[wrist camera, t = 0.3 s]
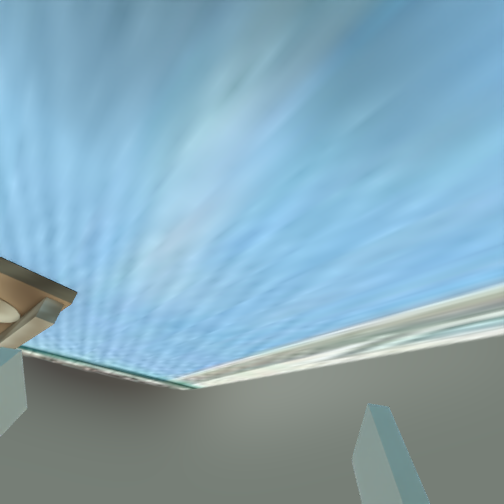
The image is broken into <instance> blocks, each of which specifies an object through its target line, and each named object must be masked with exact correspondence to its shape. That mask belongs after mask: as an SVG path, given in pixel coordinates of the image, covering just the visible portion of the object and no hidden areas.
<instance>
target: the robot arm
mask: <svg viewBox="0 0 504 504" xmlns="http://www.w3.org/2000/svg"><path fill="white" fill-rule="evenodd" d="M26 409H27V400H26V391H25V380H24V371H23V360H22V350H18V349H12V348H5V347H1V348H0V436H1V435H2V434H3V433H4V432H5V431H6V430H7V429H8V428H9V427H10V426H11V425H12V424H13V423H14V422H15V421H16V420H17V418H18V417H19V416H20V415H21V414H22V413H23V412H24V411H25V410H26ZM352 463H353V468H354V472H355V476H356V480H357V485H358V489H359V493H360V497H361V502H362V504H430V502H429V500H428V498H427V495H426V493H425V490H424V488H423V486H422V483H421V481H420V479H419V476H418V474H417V472H416V469H415V467H414V465H413V462H412V460H411V458H410V455H409V453H408V451H407V448H406V446H405V444H404V441H403V439H402V437H401V434H400V432H399V430H398V427H397V425H396V423H395V420H394V418H393V416H392V413H391V411H390V409H389V407H387V406H380V405H374V404H368V405H367V408H366V412H365V415H364V419H363V422H362V426H361V430H360V432H359V436H358V440H357V443H356V446H355V450H354V453H353V457H352Z"/></svg>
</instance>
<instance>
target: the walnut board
mask: <svg viewBox="0 0 504 504" xmlns="http://www.w3.org/2000/svg"><path fill="white" fill-rule="evenodd" d="M76 294H77V292H75V291H73V290H71V289H69V288H66V287H64V286H62V285H60V284H58V283H55V282H53V281H51V280H49V279H47V278H45V277H42V276H40V275H38V274H36V273H34V272H31V271H29V270H27V269H25V268H23V267H21V266H18V265H16V264H14V263H12V262H10V261H8V260H5V259H3V258H1V257H0V348H1V347H5V348H12V349H16V348H18V347H19V346H21V345H22V344H24V343H25V342H27V341H28V340H30V339H32V338H33V337H35V336H36V335H38V334H39V333H41V332H42V331H44V330H46V329H47V328H49V327H50V326H52V325H53V324H54V323H55V321H56V319H57V317H58V315H59V313H60V311H62V310H63V309H65V308H66V307H68V306H69V305H71V304H72V302H73V300H74V298H75V296H76Z"/></svg>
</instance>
